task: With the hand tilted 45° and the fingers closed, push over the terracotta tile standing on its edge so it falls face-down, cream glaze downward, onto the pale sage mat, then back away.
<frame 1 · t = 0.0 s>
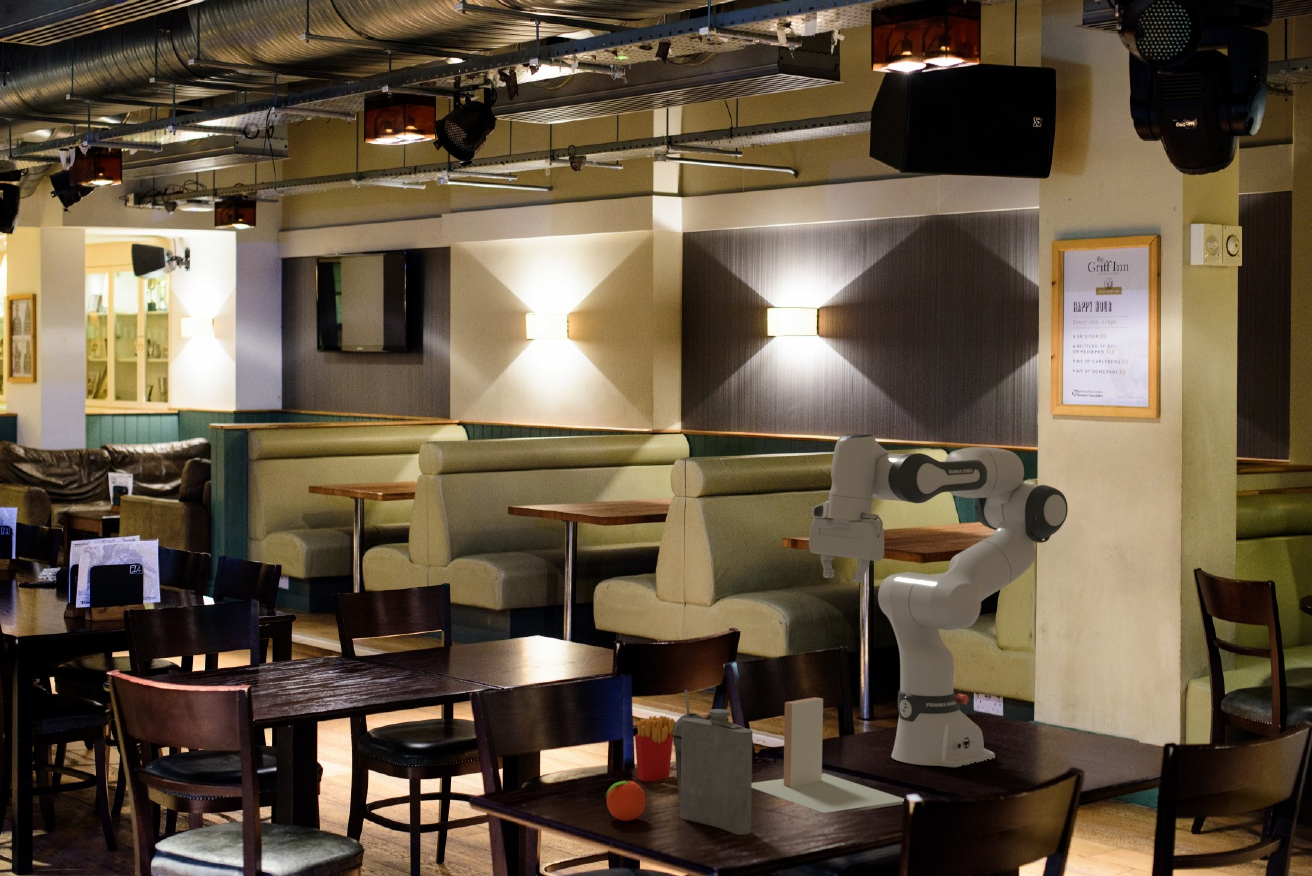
hand: (842, 579, 312), 39 cm above the table, tool pointing down, fingers open, 8 cm apart
hip flask: (716, 825, 268), on the table
clementine: (623, 821, 270), on the table
tile: (802, 782, 298), point 1 cm above the table, touching mat
beverage cup: (690, 797, 288), on the table
mat: (823, 795, 291), on the table
french fries: (654, 779, 302), on the table
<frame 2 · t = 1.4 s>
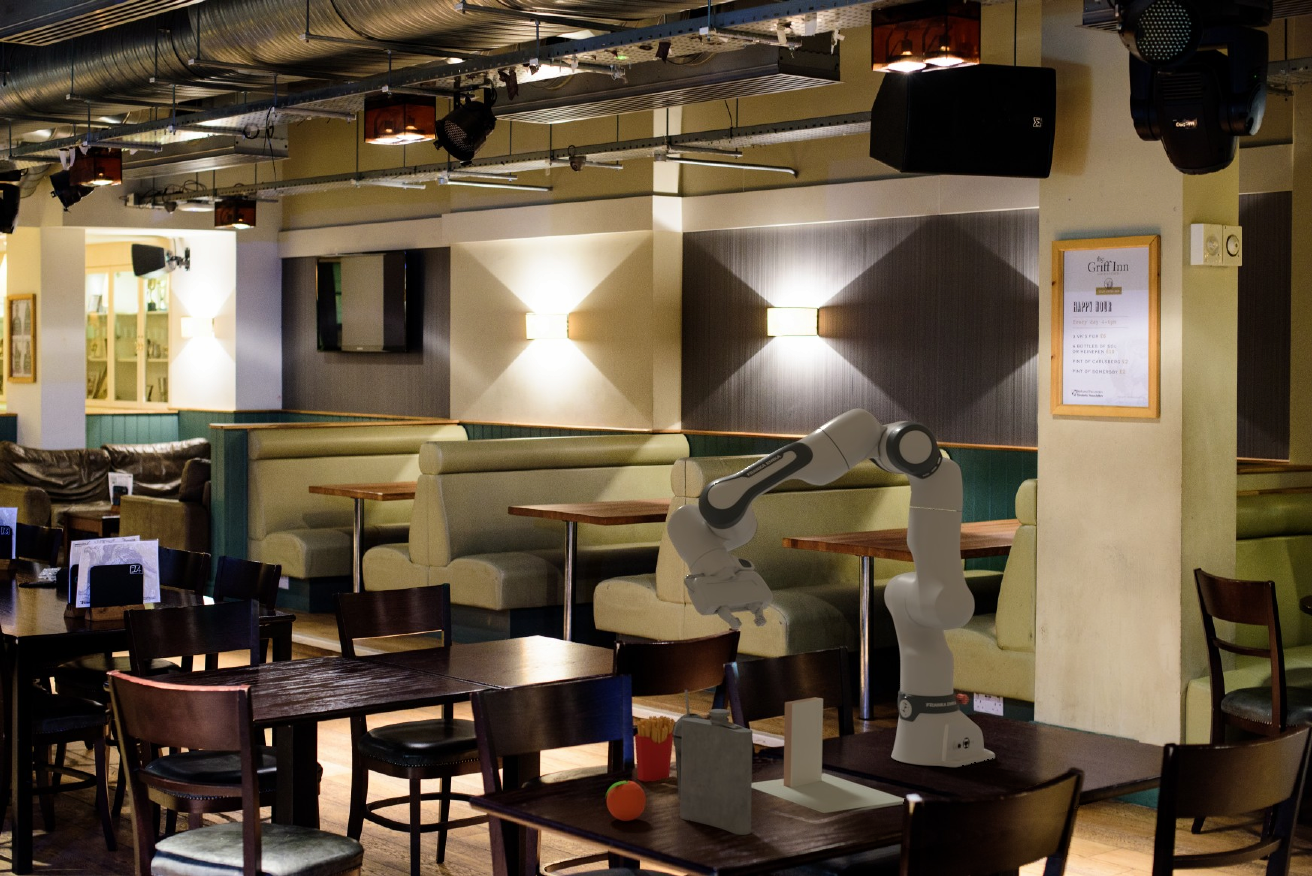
hand: (750, 625, 308), 30 cm above the table, tool tilted 45°, fingers open, 6 cm apart
nothing on the table moved.
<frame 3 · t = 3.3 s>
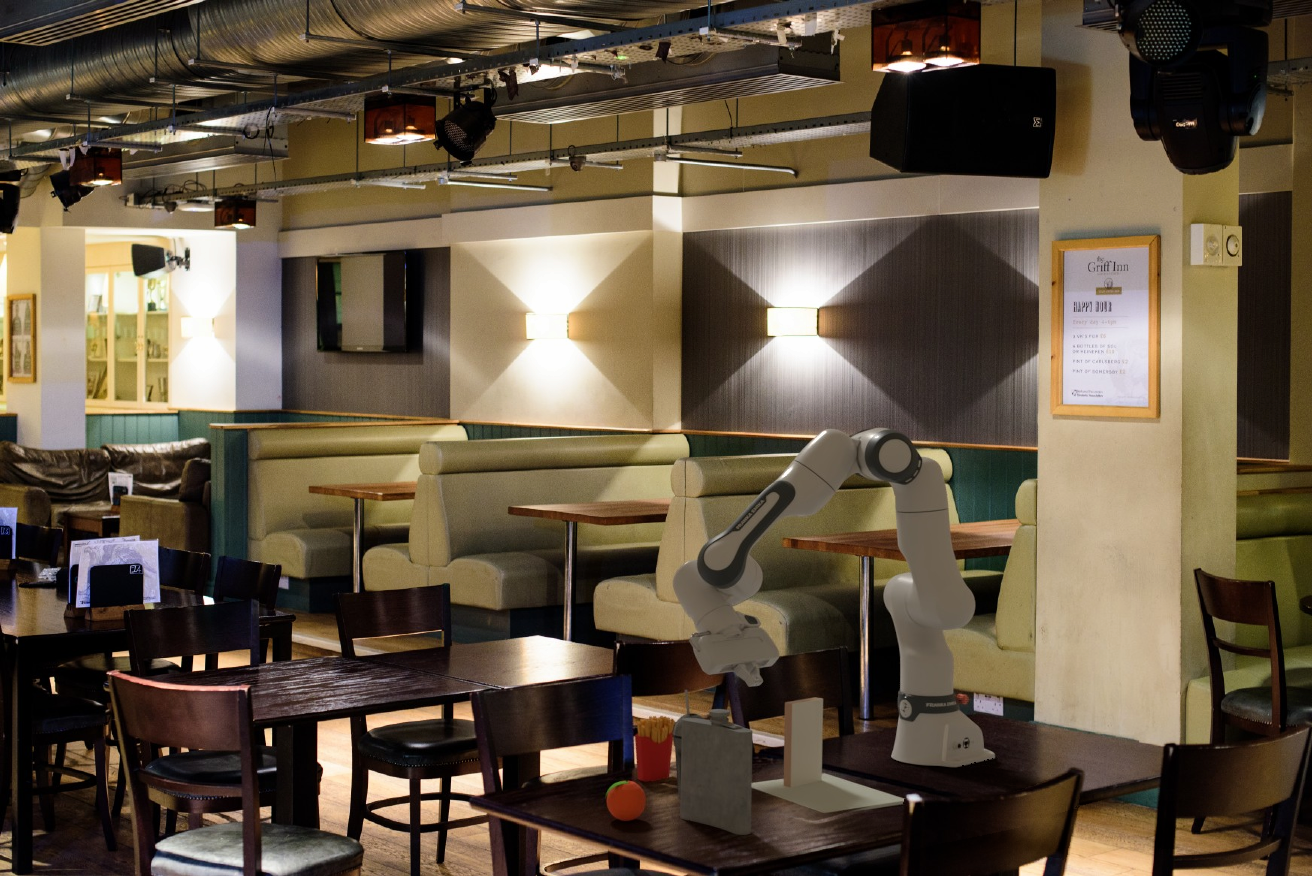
hand: (756, 684, 307), 18 cm above the table, tool tilted 45°, fingers closed
nothing on the table moved.
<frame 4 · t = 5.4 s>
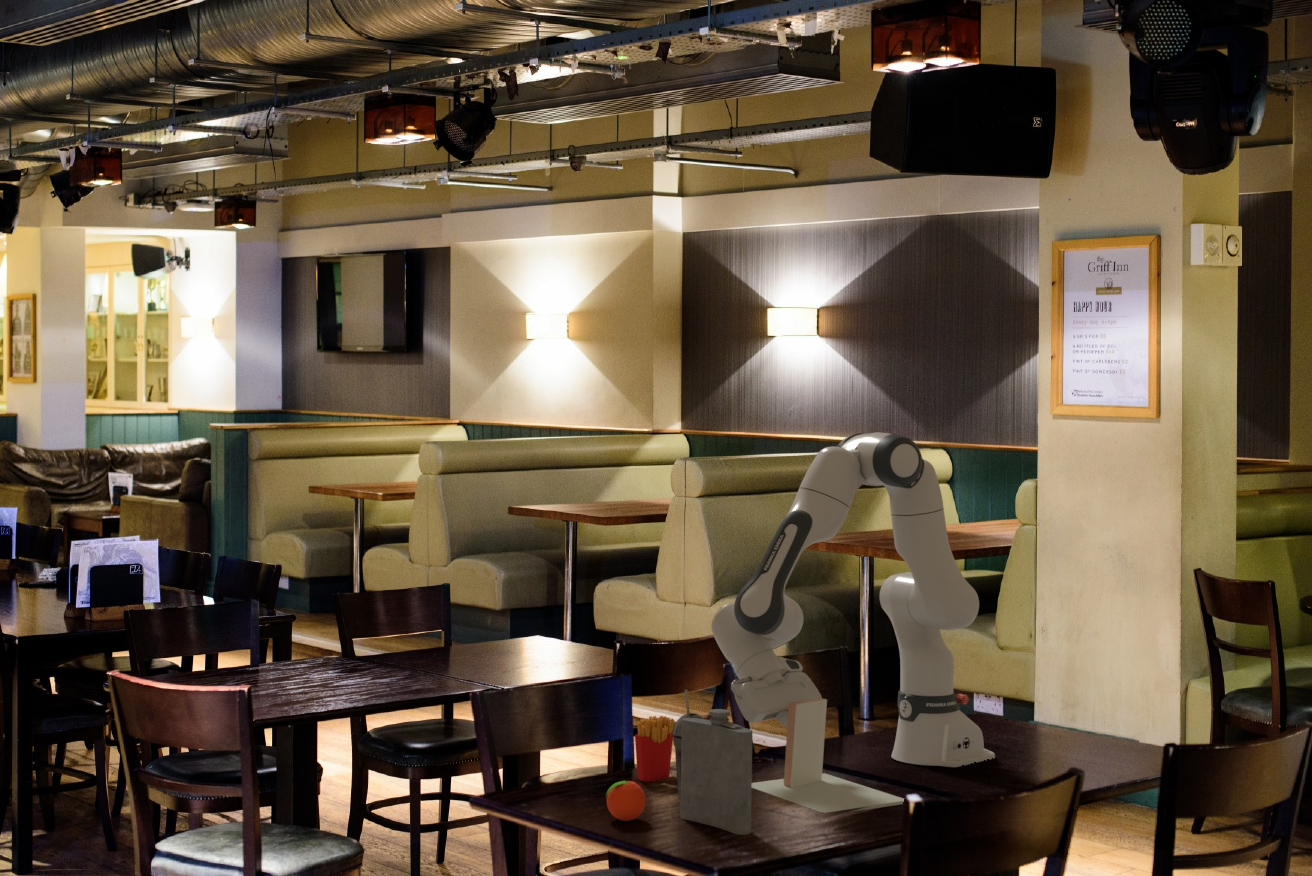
hand: (799, 732, 299), 10 cm above the table, tool tilted 45°, fingers closed
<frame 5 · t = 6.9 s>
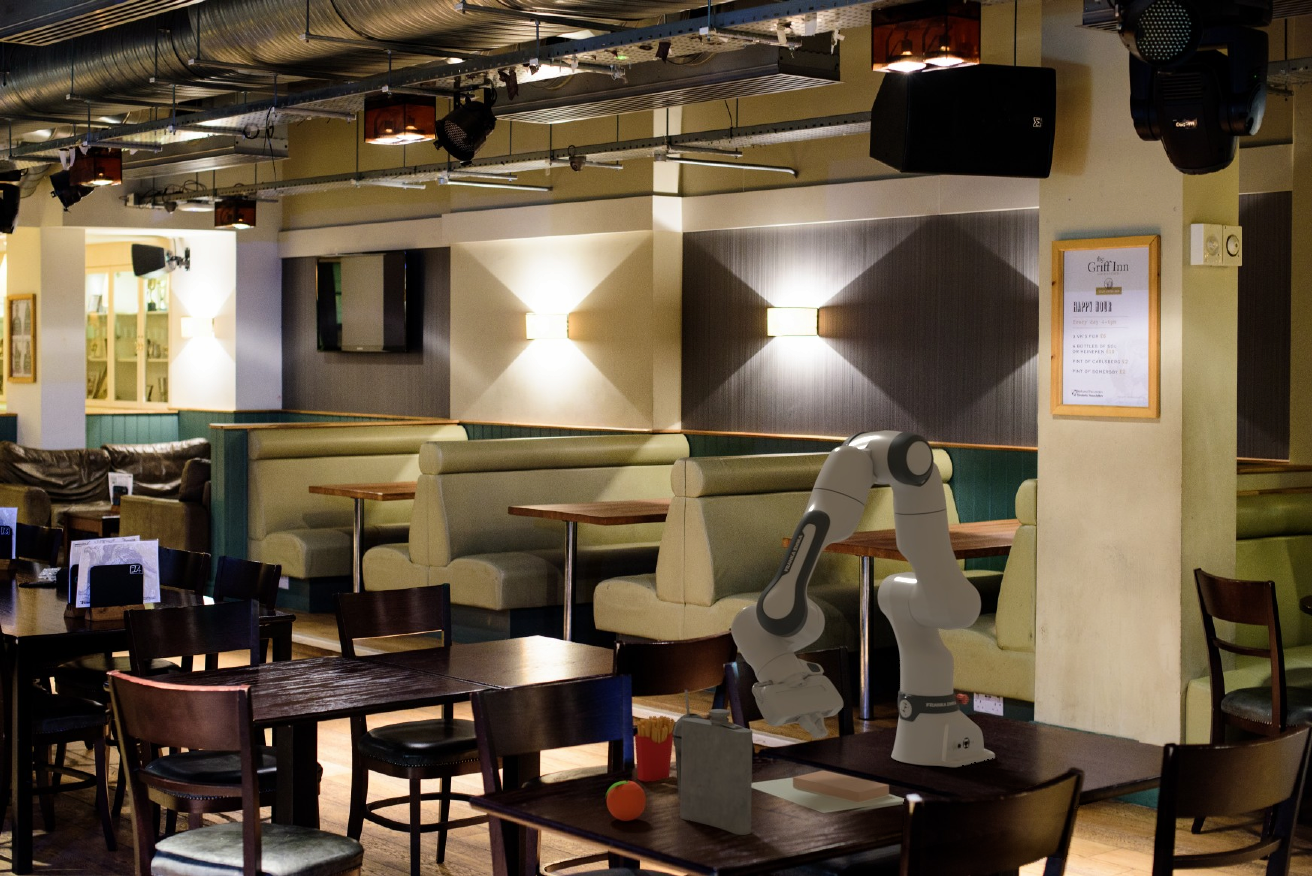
hand: (821, 736, 295), 10 cm above the table, tool tilted 45°, fingers closed
tile: (808, 778, 297), point 2 cm above the table, tilted 90°, touching mat
everything else where it was.
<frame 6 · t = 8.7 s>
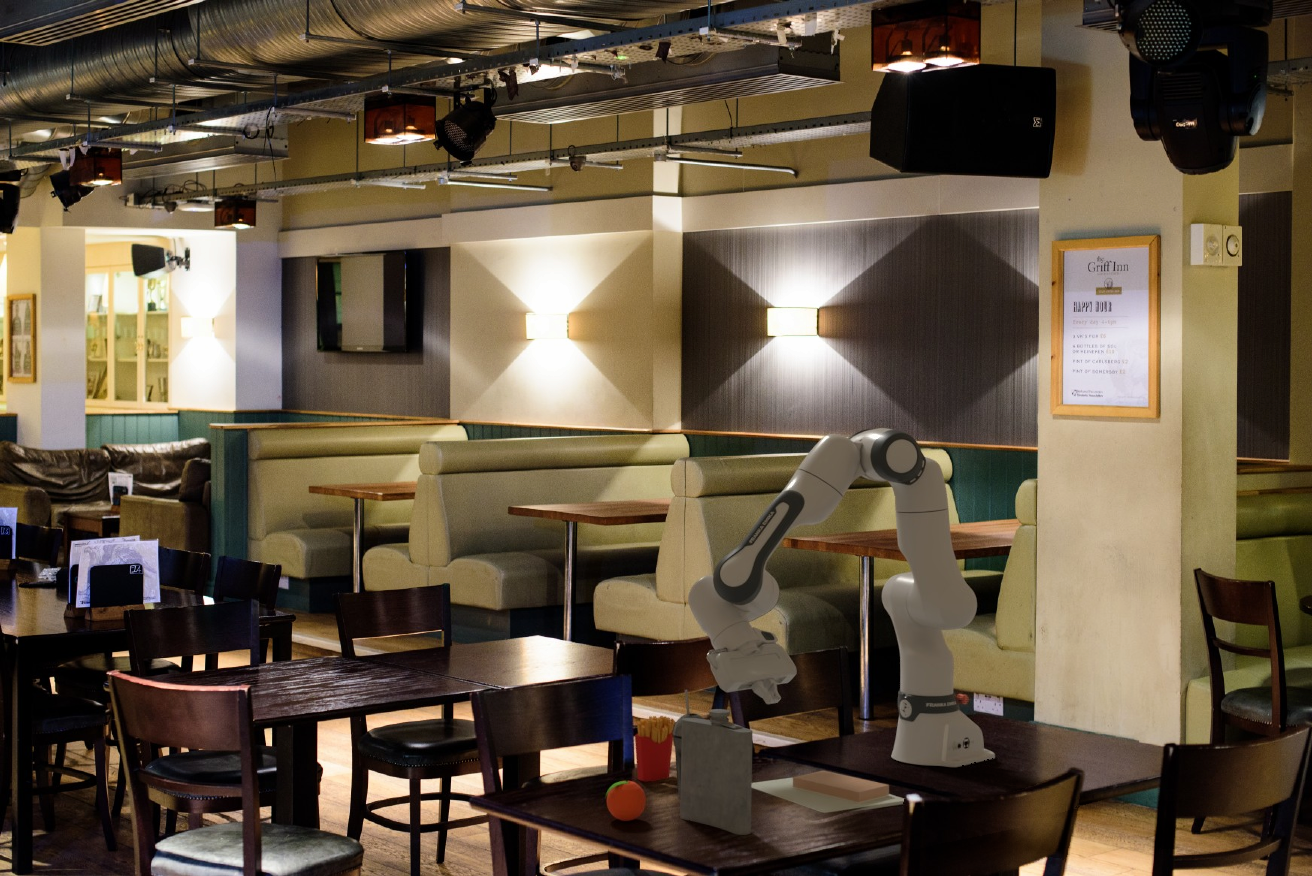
hand: (774, 701, 303), 15 cm above the table, tool tilted 45°, fingers closed
nothing on the table moved.
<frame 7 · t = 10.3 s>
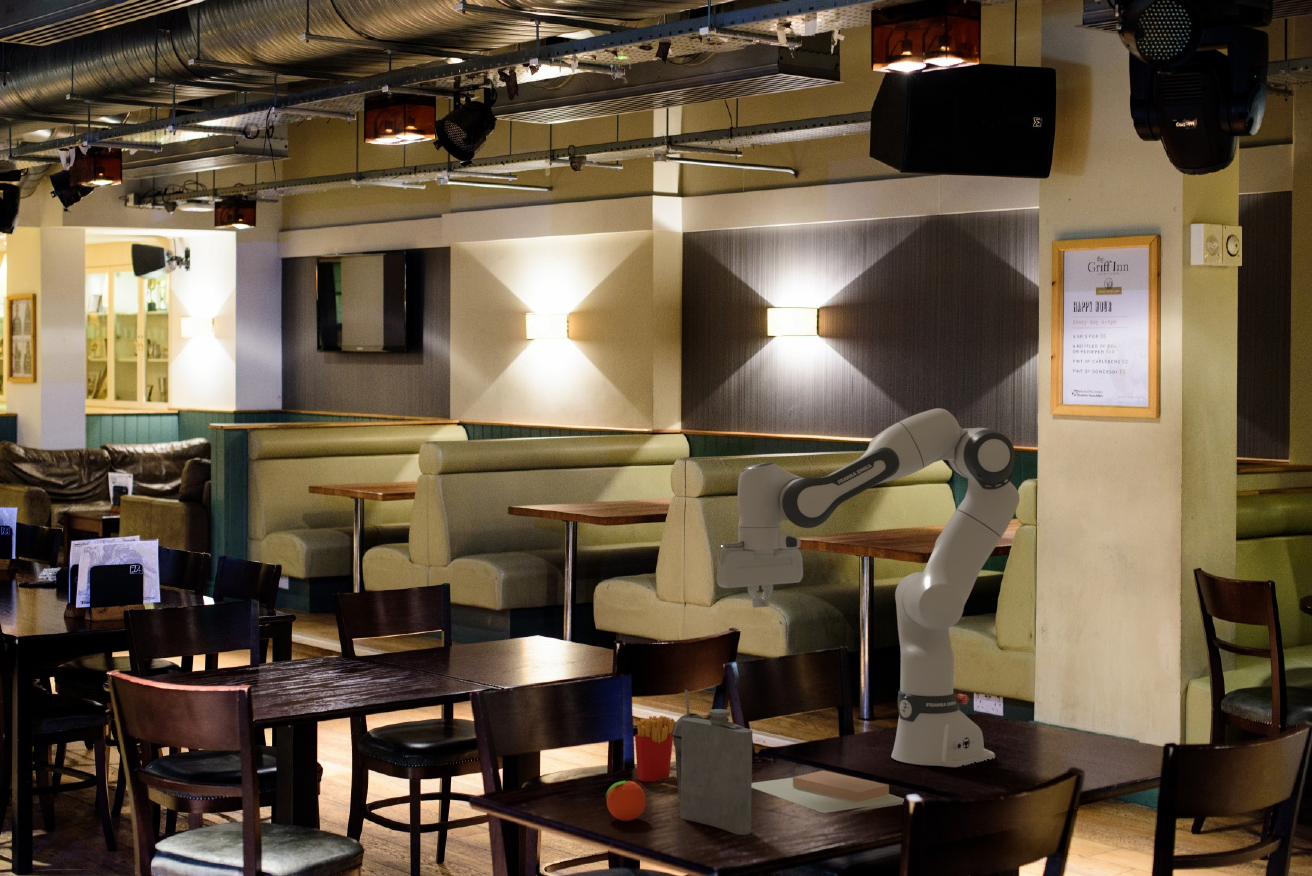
hand: (760, 607, 320), 32 cm above the table, tool pointing down, fingers closed
nothing on the table moved.
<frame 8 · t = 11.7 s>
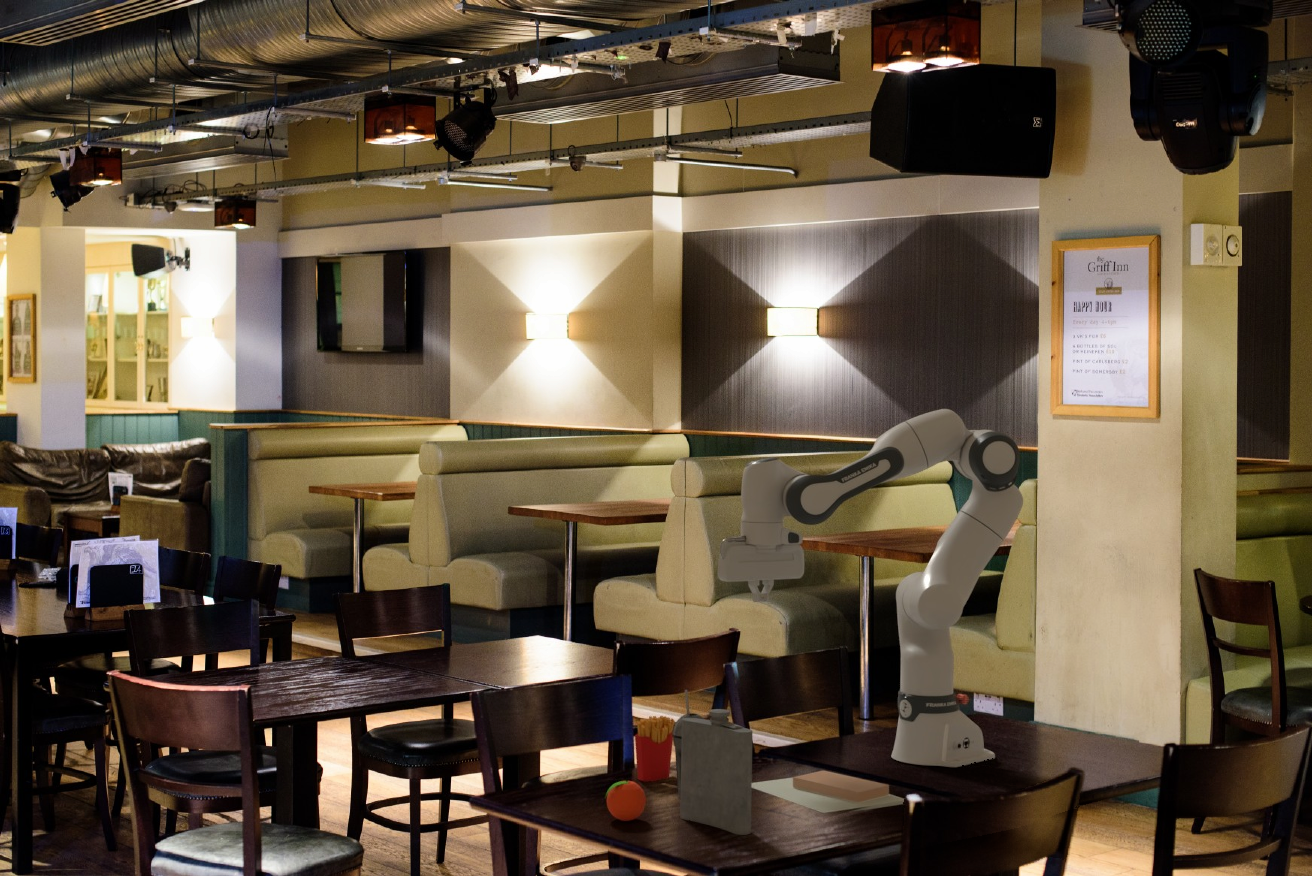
hand: (760, 601, 320), 33 cm above the table, tool pointing down, fingers closed
nothing on the table moved.
at the end: tile tilted 90°; tile inside the target area (0.3 cm from its centre), point 1.7 cm above the table; tile touching mat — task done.
